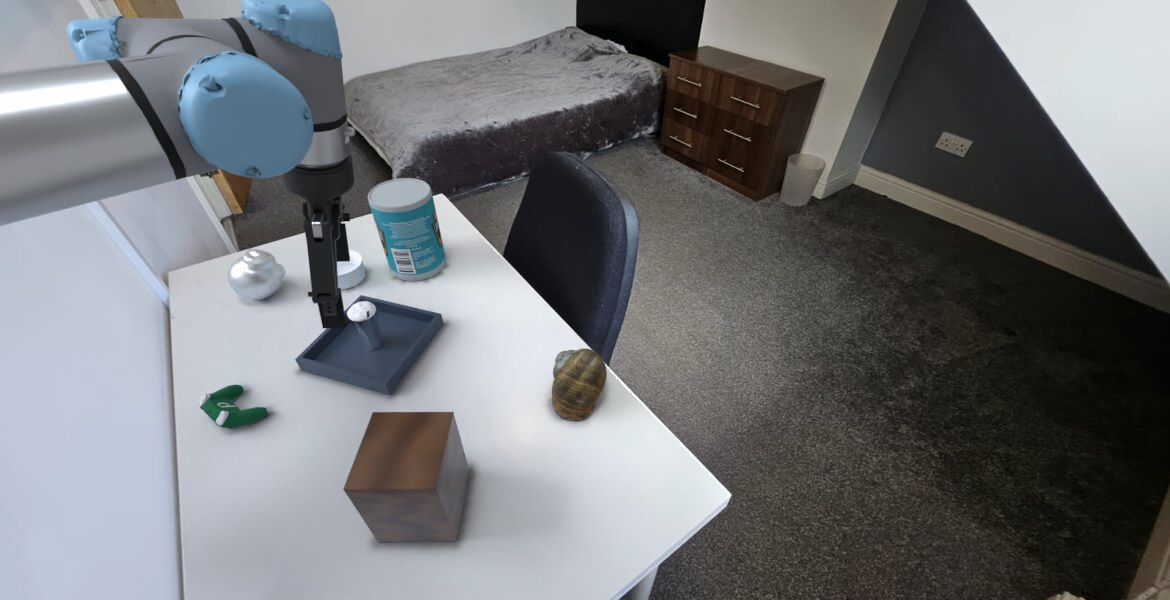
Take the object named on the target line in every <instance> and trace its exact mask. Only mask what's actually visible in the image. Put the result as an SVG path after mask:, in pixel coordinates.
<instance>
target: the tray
mask: <svg viewBox="0 0 1170 600" xmlns="http://www.w3.org/2000/svg"><path fill="white" fill-rule="evenodd" d="M361 301H368V302H371V303H373V304H374V305H375V307H376V311H377V315H378V320H379V323H380V327H381V331H382V335H383V339H384V343H383V345H382V346H381V347H380V348H378V349H375V350H368V349H367V348H366V347H365V346H364V344H363V342H362V340H361V338H360V336H359V335H358V333H357V331H356V329H355V327H354V326H353V324H352V323H351V321H350V319H349V318H348V316H347V312H348V310H349V309H350V307H351V306H352V305H353V304H356V303H358V302H361ZM344 313H345V319H346V327H341V328H325V329H324V331H322V332H321V333H320V334H319V335H318V336H317V337H316V338H315V339H314V340H313V341H312V342H311V343H310V344H309V345H308V346H307V347H306V348H305V349H304V350H303V351H302V352H301V353H300V354H298V355H297V356H296V357H295V358H294V361H295V363H296V364H297V365H298V368H299V369H300V371H301V372H305V373H308V374H312V375H315V376H319V377H322V378H327V379H330V380H333V381H337V382H340V383H344V384H348V385H350V386H354V387H359V388H362V389H365V390H369V391H373V392H375V393H376V392H377V393H380V394H383V395H387V396H391V395H392V394H393V393H394V391H395V390H396V389H397V388H398V386H399V385H400V383H401V382H402V381H403V379H404V378H405V377H406V376H407V374H408V373H409V372H410V370H411V369H412V368H413V366H414V365H415V364H416V362H417V361H418V360H419V359H420V357H421V356H422V355H423V353H424V352H425V351H426V349H427V348H428V347H429V346H430V344H431V343H432V341H433V340H434V339H435V337H436V336H437V335H438V333H439V332H440V331H441V330H442V328H443V327H444V325H445V323H444V320H443V315H442V313H441V312H440V313H439V312H435V311H431V310H426V309H422V308H419V307H414V306H409V305H406V304H401V303H397V302H393V301H388V300H385V299H380V298H375V297H371V296H367V295H363V294H361V295H359V296H358V297H357V298H356V299H355V300H354V301H353V302H352V303H351V304H350V305H349V306H348V307H347V308H346V309H344Z"/></svg>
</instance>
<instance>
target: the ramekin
mask: <svg viewBox="0 0 1170 600" xmlns="http://www.w3.org/2000/svg"><path fill="white" fill-rule="evenodd" d="M349 255H350V261H342V262H337V272H338V288H341V290H346V289H350V288H354V287H355V286H357V285H358V284H360V283H362V281H363V280H364V279H365V277H366V269H365V264H364V259H363V255H362V254H361V253H360V252H358V251H356V250H351V249H349Z"/></svg>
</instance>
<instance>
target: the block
mask: <svg viewBox="0 0 1170 600" xmlns="http://www.w3.org/2000/svg"><path fill="white" fill-rule="evenodd" d="M467 459H468V458H467V456H466V452H465V450H464V445H463V442H462V438H461V434H460V430H459V427H458V424H457V420H456V417H455V411H373V412H372V413H371V416H370V418H369V421H368V423H367V426H366V429H365V431H364V433H363V436H362V439H361V442H360V443H359V447H358V450H357V451H356V455H355V457H354V459H353V462H352V465H351V467H350V470H349V472H348V476H347V478H346V481H345V483H344V485H343V488H342V489H343V491H344V492H345V494H346V495H347V497H348V499H349V500H350V503H352V505H353V506H354V508H355V510H356V511H357V512H358V515H360V517H361V518H362V520H363V522H364V523H365V525H366V527H367V528H368V530H369V531H370V532H371V534H372V535H373V537H374V538H375V540H376V542H377V543H418V542H419V543H420V542H421V543H422V542H424V543H425V542H426V543H427V542H430V543H432V542H457V539H458V534H459V530H460V529H459V528H460V522H461V517H462V511H463V507H464V502H465V497H466V490H467V484H468V478H469V473H470V467H469V464H468V460H467Z"/></svg>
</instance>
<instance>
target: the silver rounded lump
mask: <svg viewBox="0 0 1170 600" xmlns="http://www.w3.org/2000/svg"><path fill="white" fill-rule="evenodd" d="M286 273H287V272H286V269H285V267H284V266H283V265H282V264H280V263H278V262H277V260H276V257H275V256H274V254H272V253H271V252H268V251H265V250H262V249H257V248H256V249H255V248H254V249H253V248H252V249H249V250H247V251H245V253H244V254H243V256H241V257H239V258H237V259H236V260H235V261H234V262H233V263H232V264H231V265H230V266H229V269H228V272H227V282H228V284H229V286H230V287H231V289H232V290H233V291H234V292H235V293H236V294H238V296H241V297H243V298H245V299H250V300H262V299H266V298H268V297H270V296H272V295H274V294H275V293H276V292H277V291H279V289H280V287H281V285H282V282H283V278H284V277H285V276H286Z"/></svg>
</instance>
